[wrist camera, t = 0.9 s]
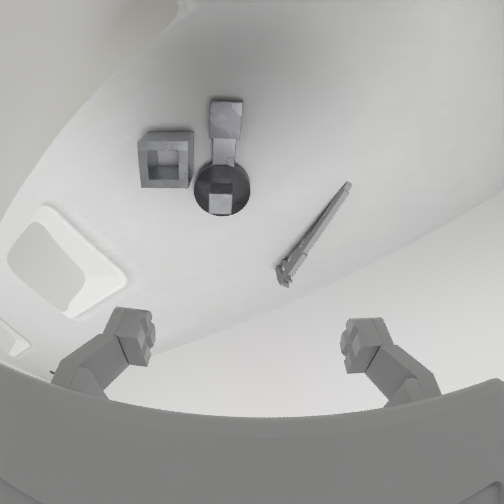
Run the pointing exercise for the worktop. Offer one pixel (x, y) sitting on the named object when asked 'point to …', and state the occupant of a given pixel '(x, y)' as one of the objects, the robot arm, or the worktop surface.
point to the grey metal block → (166, 174)
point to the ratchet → (223, 163)
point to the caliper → (310, 239)
